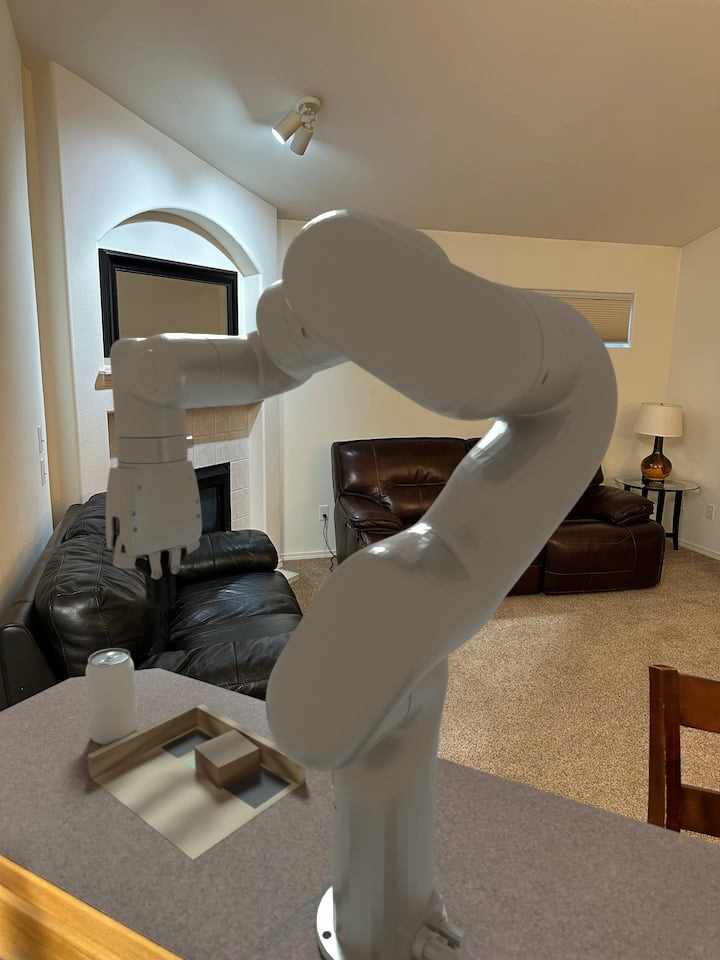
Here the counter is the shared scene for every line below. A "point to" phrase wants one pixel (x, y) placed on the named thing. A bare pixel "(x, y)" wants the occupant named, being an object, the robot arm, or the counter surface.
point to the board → (190, 779)
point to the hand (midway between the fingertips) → (161, 606)
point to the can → (111, 695)
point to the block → (227, 758)
